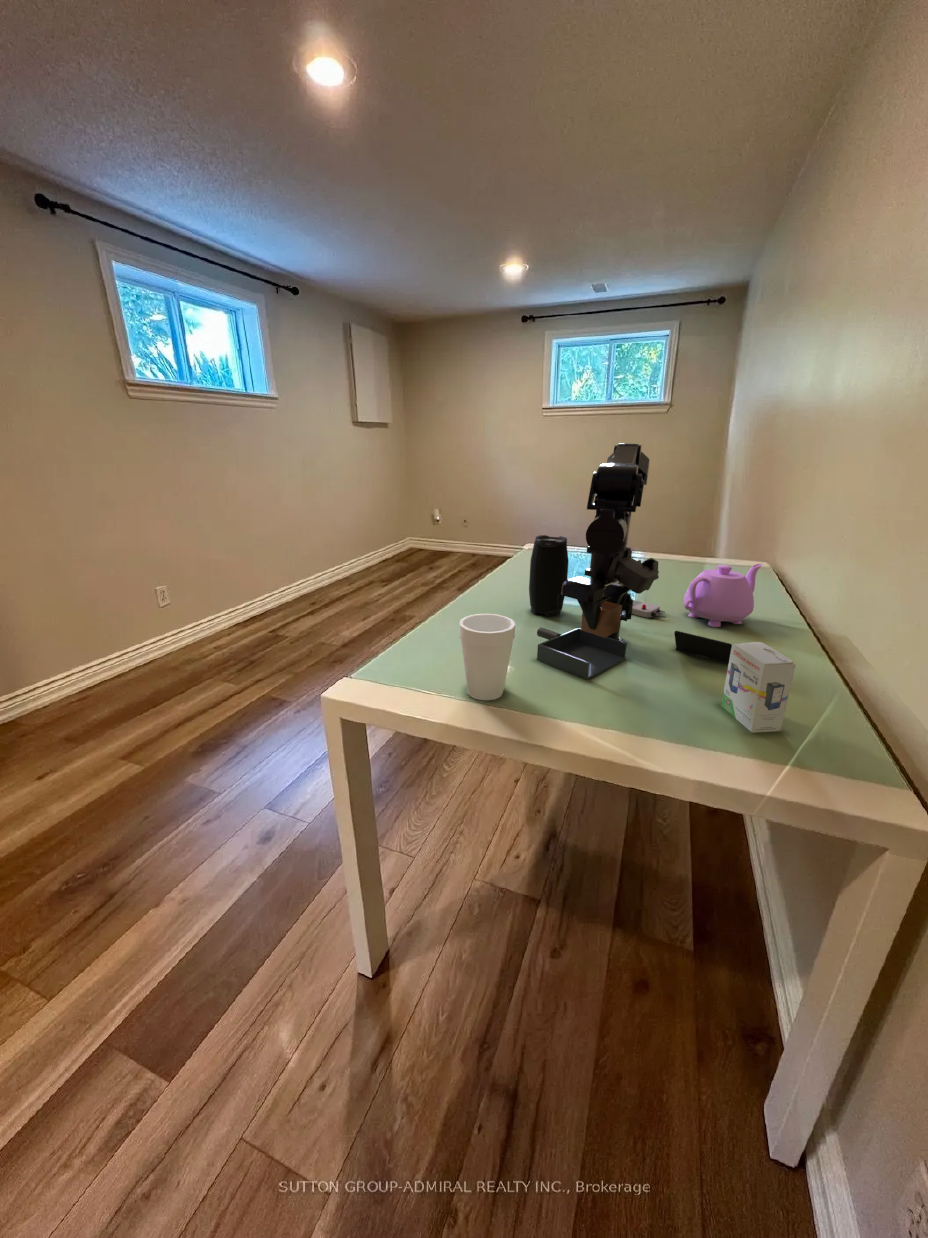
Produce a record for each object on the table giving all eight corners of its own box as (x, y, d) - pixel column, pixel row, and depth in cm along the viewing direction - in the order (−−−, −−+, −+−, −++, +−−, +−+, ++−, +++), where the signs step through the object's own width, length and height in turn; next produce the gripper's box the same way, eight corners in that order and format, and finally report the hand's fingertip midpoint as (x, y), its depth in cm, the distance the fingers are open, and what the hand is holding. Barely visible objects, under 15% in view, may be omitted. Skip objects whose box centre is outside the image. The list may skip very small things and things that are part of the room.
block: (595, 623, 94) (597, 598, 92) (618, 630, 91) (622, 605, 89) (580, 630, 91) (583, 604, 89) (604, 637, 87) (607, 611, 86)
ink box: (781, 732, 75) (800, 663, 71) (749, 734, 75) (766, 664, 71) (746, 704, 83) (761, 640, 79) (717, 705, 83) (731, 641, 79)
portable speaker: (524, 608, 130) (528, 534, 124) (557, 606, 131) (563, 534, 125) (532, 618, 122) (537, 541, 116) (568, 617, 123) (575, 540, 117)
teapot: (726, 605, 134) (737, 555, 129) (777, 624, 120) (790, 570, 116) (661, 613, 127) (669, 561, 123) (706, 634, 114) (717, 576, 109)
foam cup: (457, 679, 91) (458, 613, 86) (507, 678, 91) (510, 613, 87) (460, 705, 82) (461, 633, 78) (515, 704, 83) (519, 632, 78)
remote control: (618, 602, 136) (619, 591, 135) (674, 616, 125) (676, 605, 124) (606, 607, 131) (607, 596, 130) (662, 622, 121) (664, 611, 120)
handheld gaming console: (739, 644, 104) (738, 617, 96) (736, 674, 100) (735, 648, 93) (680, 640, 110) (675, 614, 103) (675, 668, 106) (670, 643, 99)
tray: (558, 635, 112) (559, 619, 110) (626, 658, 100) (628, 641, 99) (517, 652, 102) (518, 635, 101) (587, 680, 91) (589, 661, 90)
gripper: (625, 559, 73) (613, 653, 79) (678, 541, 85) (665, 624, 91) (563, 547, 81) (556, 634, 86) (620, 532, 93) (611, 609, 98)
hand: (600, 625), depth 90 cm, fingers closed on block, 5 cm apart
